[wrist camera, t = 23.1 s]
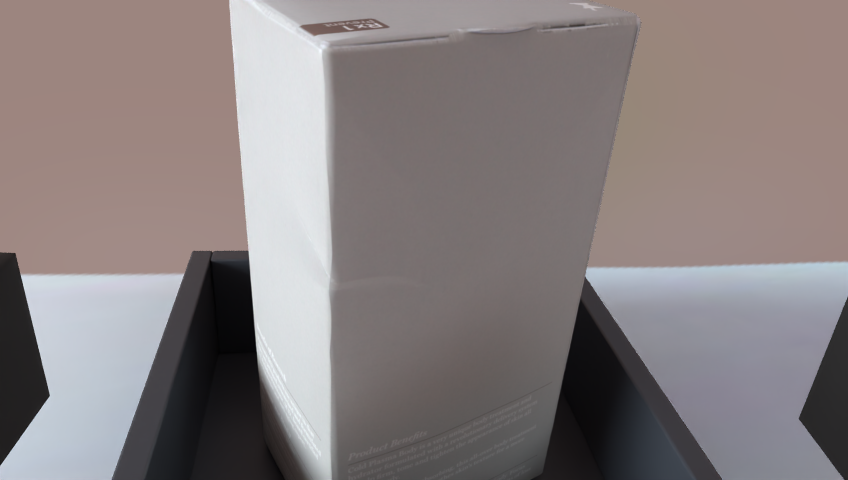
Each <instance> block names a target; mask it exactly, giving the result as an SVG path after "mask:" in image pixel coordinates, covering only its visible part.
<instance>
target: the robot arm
mask: <svg viewBox="0 0 848 480" xmlns="http://www.w3.org/2000/svg"><path fill="white" fill-rule="evenodd" d="M49 396H50V394H49V390H48V386H47V382H46V378H45V374H44V370H43V366H42V361H41V357H40V353H39V349H38V345H37V341H36V337H35V333H34V328H33V324H32V320H31V316H30V312H29V308H28V304H27V300H26V295H25V291H24V287H23V283H22V279H21V275H20V271H19V267H18V262H17V258H16V254H15V253H0V465H1V464H2V463H3V461H4V460H5V458H6V457H7V455H8V454H9V453H10V451H11V450H12V448H13V447H14V446H15V444H16V443H17V441H18V440H19V438H20V437H21V436H22V434H23V433H24V431H25V430H26V429H27V427H28V426H29V424H30V423H31V422H32V420H33V419H34V417H35V416H36V414H37V413H38V412H39V410H40V409H41V407H42V406H43V405H44V403H45V402H46V400H47V399H48V398H49ZM799 420H800V421H801V422H802V424H803V425H804V426H805V428H806V429H807V430H808V432H809V433H810V434H811V436H812V437H813V438H814V440H815V441H816V442H817V444H818V445H819V446H820V448H821V449H822V450H823V452H824V453H825V454H826V456H827V457H828V458H829V460H830V461H831V462H832V464H833V465H834V467H835V468H836V469H837V471H838V472H839V473H840V475H841V476H842V477H843V479H844V480H848V298H847V300H846V302H845V305H844V307H843V310H842V312H841V315H840V317H839V320H838V322H837V325H836V327H835V330H834V332H833V335H832V337H831V340H830V342H829V345H828V347H827V350H826V352H825V355H824V357H823V360H822V362H821V365H820V367H819V370H818V372H817V375H816V377H815V380H814V382H813V385H812V387H811V390H810V392H809V394H808V397H807V399H806V402H805V404H804V407H803V409H802V412H801V414H800V417H799Z"/></svg>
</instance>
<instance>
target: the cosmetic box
mask: <svg viewBox="0 0 848 480" xmlns="http://www.w3.org/2000/svg"><path fill="white" fill-rule="evenodd" d="M229 2H230V21H231V33H232V47H233V59H234V73H235V87H236V99H237V115H238V127H239V140H240V152H241V164H242V176H243V188H244V200H245V213H246V225H247V238H248V250H249V262H250V274H251V287H252V299H253V311H254V324H255V336H256V348H257V360H258V371H259V381H260V396H261V408H262V420H263V437H264V440H265V442H266V444H267V446H268V448H269V450H270V452H271V454H272V456H273V458H274V460H275V462H276V464H277V466H278V468H279V469H280V471H281V473H282V475H283V477H284V479H285V480H531V479H533V478H535V477H537V476H539V475H541V474H542V473H543V469H544V464H545V459H546V454H547V450H548V446H549V441H550V436H551V432H552V428H553V423H554V418H555V413H556V408H557V404H558V399H559V394H560V389H561V385H562V380H563V375H564V371H565V366H566V361H567V357H568V353H569V348H570V343H571V339H572V334H573V329H574V324H575V320H576V315H577V310H578V306H579V301H580V296H581V292H582V287H583V283H584V278H585V274H586V269H587V264H588V260H589V255H590V251H591V246H592V241H593V237H594V232H595V228H596V223H597V219H598V214H599V210H600V205H601V200H602V196H603V191H604V186H605V181H606V177H607V172H608V168H609V163H610V158H611V154H612V150H613V145H614V141H615V136H616V131H617V127H618V122H619V117H620V113H621V108H622V104H623V99H624V94H625V90H626V85H627V81H628V76H629V71H630V67H631V63H632V58H633V54H634V50H635V47H636V43H637V39H638V35H639V31H640V27H641V21H640V18H639V17H638V16H637V15H636V14H634V13H631V12H628V11H624V10H621V9H617V8H613V7H610V6H606V5H603V4H599V3H596V2H593V1H589V0H229Z"/></svg>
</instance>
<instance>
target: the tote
mask: <svg viewBox="0 0 848 480" xmlns="http://www.w3.org/2000/svg"><path fill="white" fill-rule="evenodd" d="M112 480H285V479H284V477H283V475H282V473H281V471H280V469H279V468H278V466H277V464H276V462H275V460H274V458H273V456H272V454H271V452H270V450H269V448H268V446H267V444H266V442H265V440H264V437H263V420H262V408H261V396H260V381H259V371H258V360H257V348H256V336H255V324H254V311H253V299H252V287H251V274H250V262H249V251H214V252H212V251H193V252H192V255H191V257H190V260H189V263H188V266H187V269H186V271H185V274H184V277H183V280H182V283H181V286H180V288H179V291H178V294H177V297H176V300H175V302H174V305H173V308H172V311H171V314H170V317H169V319H168V322H167V325H166V328H165V331H164V333H163V336H162V339H161V342H160V345H159V348H158V350H157V353H156V356H155V359H154V362H153V365H152V367H151V370H150V373H149V376H148V379H147V381H146V384H145V387H144V390H143V393H142V396H141V398H140V401H139V404H138V407H137V410H136V412H135V415H134V418H133V421H132V424H131V427H130V429H129V432H128V435H127V438H126V441H125V444H124V446H123V449H122V452H121V455H120V458H119V460H118V463H117V466H116V469H115V472H114V475H113V477H112ZM531 480H722V478H721V477H720V476H719V474H718V473H717V471H716V470H715V468H714V467H713V465H712V464H711V462H710V461H709V459H708V458H707V456H706V455H705V453H704V452H703V450H702V449H701V447H700V446H699V444H698V443H697V441H696V440H695V438H694V437H693V436H692V434H691V433H690V431H689V430H688V428H687V427H686V425H685V424H684V422H683V421H682V419H681V418H680V416H679V415H678V413H677V412H676V410H675V409H674V407H673V406H672V404H671V403H670V401H669V400H668V399H667V397H666V396H665V394H664V393H663V391H662V390H661V388H660V387H659V385H658V384H657V382H656V381H655V379H654V378H653V376H652V375H651V373H650V372H649V370H648V369H647V367H646V366H645V364H644V363H643V361H642V360H641V359H640V357H639V356H638V354H637V353H636V351H635V350H634V348H633V347H632V345H631V344H630V342H629V341H628V339H627V338H626V336H625V335H624V333H623V332H622V330H621V329H620V327H619V326H618V324H617V323H616V322H615V320H614V319H613V317H612V316H611V314H610V313H609V311H608V310H607V308H606V307H605V305H604V304H603V302H602V301H601V299H600V298H599V296H598V295H597V293H596V292H595V290H594V289H593V287H592V286H591V284H590V283H589V282H588V280H587V279H586V277H585V278H584V283H583V287H582V292H581V296H580V301H579V306H578V310H577V315H576V320H575V324H574V329H573V334H572V339H571V343H570V348H569V353H568V357H567V361H566V366H565V371H564V375H563V380H562V385H561V389H560V394H559V399H558V404H557V408H556V413H555V418H554V423H553V428H552V432H551V436H550V441H549V446H548V450H547V454H546V459H545V464H544V469H543V473H542V474H541V475H539V476H537V477H535V478H533V479H531Z"/></svg>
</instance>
